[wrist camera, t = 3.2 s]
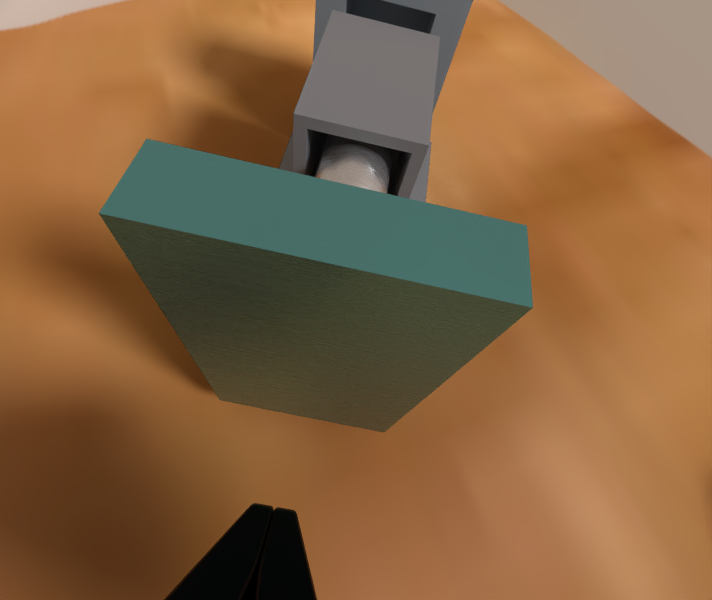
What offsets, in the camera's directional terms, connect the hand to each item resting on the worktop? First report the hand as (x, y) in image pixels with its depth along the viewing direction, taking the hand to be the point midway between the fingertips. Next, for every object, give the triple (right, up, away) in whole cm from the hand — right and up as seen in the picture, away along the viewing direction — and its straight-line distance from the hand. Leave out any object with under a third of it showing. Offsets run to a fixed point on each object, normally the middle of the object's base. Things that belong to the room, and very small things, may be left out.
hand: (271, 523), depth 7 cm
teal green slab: (+1, +6, +10) cm, 11 cm away
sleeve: (+1, +8, +12) cm, 15 cm away
